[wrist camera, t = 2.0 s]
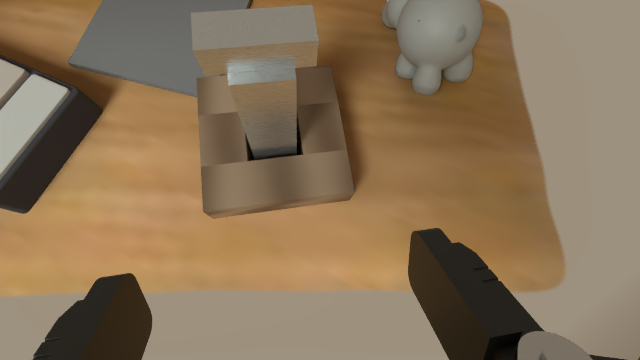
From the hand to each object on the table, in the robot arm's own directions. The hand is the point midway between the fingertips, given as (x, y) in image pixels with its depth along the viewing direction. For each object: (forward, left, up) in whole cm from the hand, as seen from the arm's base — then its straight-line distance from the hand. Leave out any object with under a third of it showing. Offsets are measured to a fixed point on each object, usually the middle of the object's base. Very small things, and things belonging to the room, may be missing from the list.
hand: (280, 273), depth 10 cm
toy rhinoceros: (+6, +25, -18) cm, 32 cm away
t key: (-4, +11, -18) cm, 22 cm away
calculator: (-29, +6, -19) cm, 35 cm away
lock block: (-5, +11, -18) cm, 22 cm away
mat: (-18, +21, -18) cm, 33 cm away
